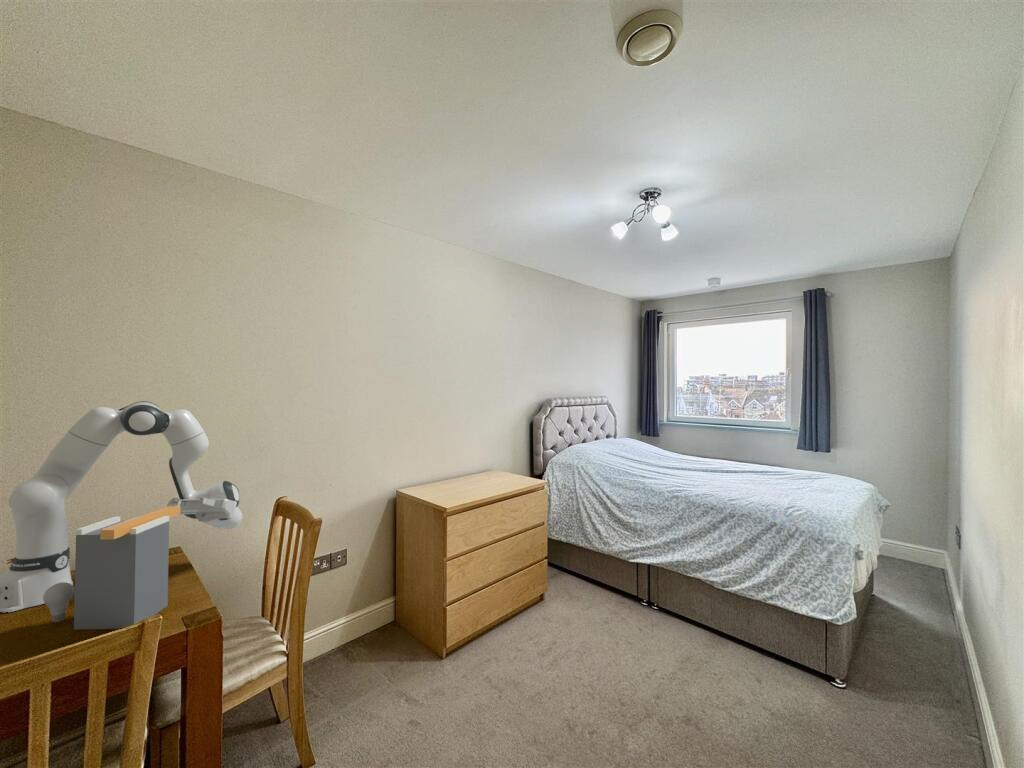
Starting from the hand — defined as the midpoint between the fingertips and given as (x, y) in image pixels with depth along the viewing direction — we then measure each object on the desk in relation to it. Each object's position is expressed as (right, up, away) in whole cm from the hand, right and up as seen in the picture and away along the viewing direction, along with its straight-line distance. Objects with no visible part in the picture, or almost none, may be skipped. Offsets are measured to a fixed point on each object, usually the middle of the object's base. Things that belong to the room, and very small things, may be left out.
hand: (187, 500), depth 142 cm
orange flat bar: (+1, -3, -17) cm, 18 cm away
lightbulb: (-19, -29, -23) cm, 41 cm away
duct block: (-3, -28, -20) cm, 35 cm away
